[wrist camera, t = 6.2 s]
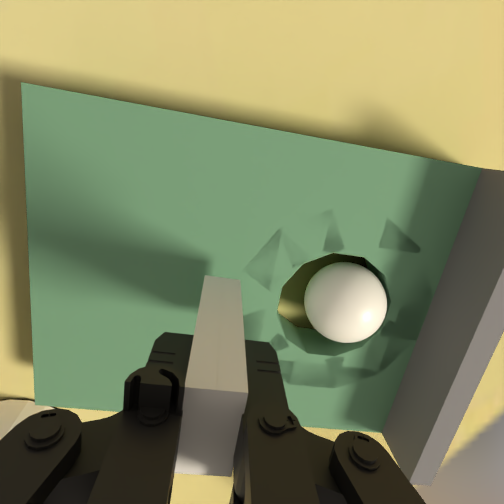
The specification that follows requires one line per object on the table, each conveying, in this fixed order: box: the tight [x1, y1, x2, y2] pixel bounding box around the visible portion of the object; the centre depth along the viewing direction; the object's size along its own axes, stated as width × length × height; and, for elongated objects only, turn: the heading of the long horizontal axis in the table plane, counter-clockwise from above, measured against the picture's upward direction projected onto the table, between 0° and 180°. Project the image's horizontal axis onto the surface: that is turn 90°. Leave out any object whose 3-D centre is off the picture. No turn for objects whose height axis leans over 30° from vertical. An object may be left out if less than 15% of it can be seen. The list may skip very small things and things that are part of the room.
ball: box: [304, 262, 387, 343], centre depth 17 cm, size 4×4×4 cm
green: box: [21, 82, 504, 486], centre depth 15 cm, size 20×15×6 cm
